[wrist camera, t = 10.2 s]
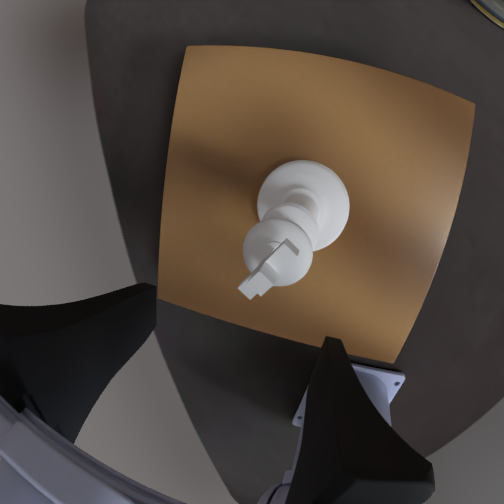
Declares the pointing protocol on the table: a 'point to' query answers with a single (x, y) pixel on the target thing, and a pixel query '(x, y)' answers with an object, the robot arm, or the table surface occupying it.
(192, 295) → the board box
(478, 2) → the apothecary jar
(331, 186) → the chess piece
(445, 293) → the table surface
